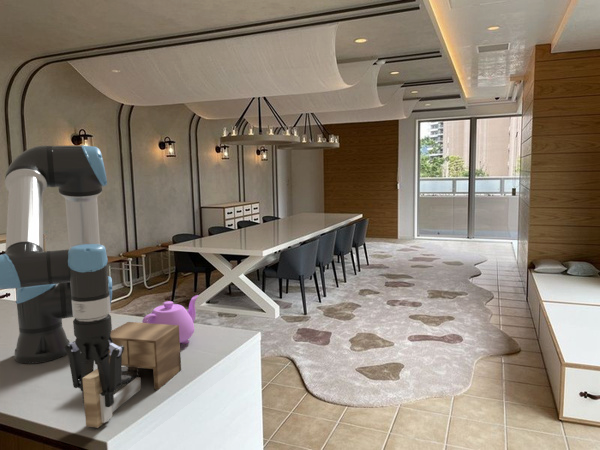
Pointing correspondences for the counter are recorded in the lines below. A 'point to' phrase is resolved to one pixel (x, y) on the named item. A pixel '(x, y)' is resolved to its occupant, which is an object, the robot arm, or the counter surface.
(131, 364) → the small wooden cabinet
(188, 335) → the teapot
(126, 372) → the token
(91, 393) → the wood and metal l-shape
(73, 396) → the counter surface
